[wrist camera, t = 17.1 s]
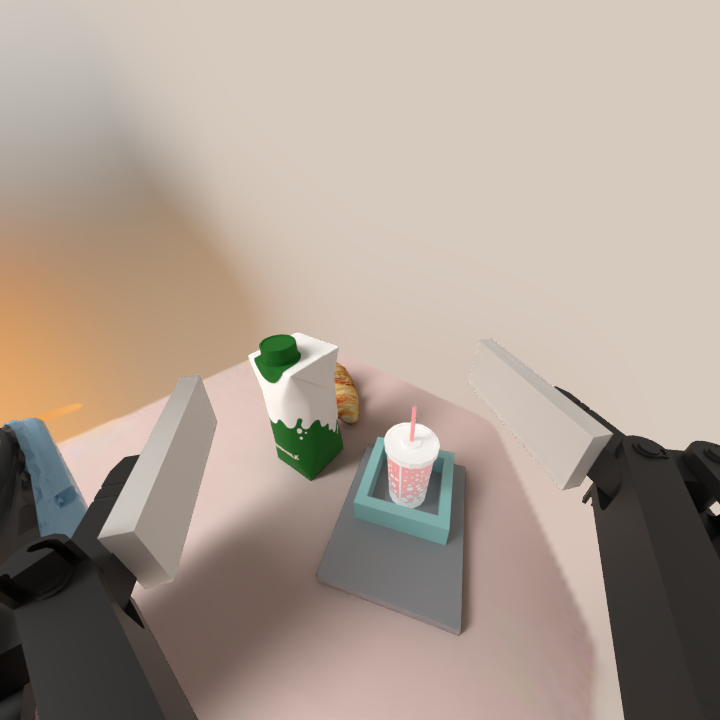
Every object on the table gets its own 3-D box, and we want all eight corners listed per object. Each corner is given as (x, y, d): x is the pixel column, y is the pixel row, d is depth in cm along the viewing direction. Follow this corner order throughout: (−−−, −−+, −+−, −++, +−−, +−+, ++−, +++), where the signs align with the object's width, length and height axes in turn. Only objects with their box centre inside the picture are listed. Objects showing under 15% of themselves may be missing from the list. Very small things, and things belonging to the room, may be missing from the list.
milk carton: (269, 458, 44) (236, 340, 33) (312, 423, 50) (295, 314, 39) (311, 489, 39) (287, 363, 29) (352, 447, 45) (345, 330, 35)
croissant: (370, 435, 52) (388, 396, 50) (323, 438, 45) (342, 393, 43) (317, 377, 67) (329, 346, 65) (276, 373, 61) (288, 338, 58)
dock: (458, 635, 26) (466, 617, 24) (317, 580, 30) (312, 560, 28) (463, 472, 41) (468, 451, 39) (367, 449, 45) (367, 429, 42)
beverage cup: (439, 484, 38) (454, 400, 31) (419, 524, 34) (431, 437, 26) (396, 463, 41) (401, 382, 34) (373, 497, 37) (373, 413, 29)
